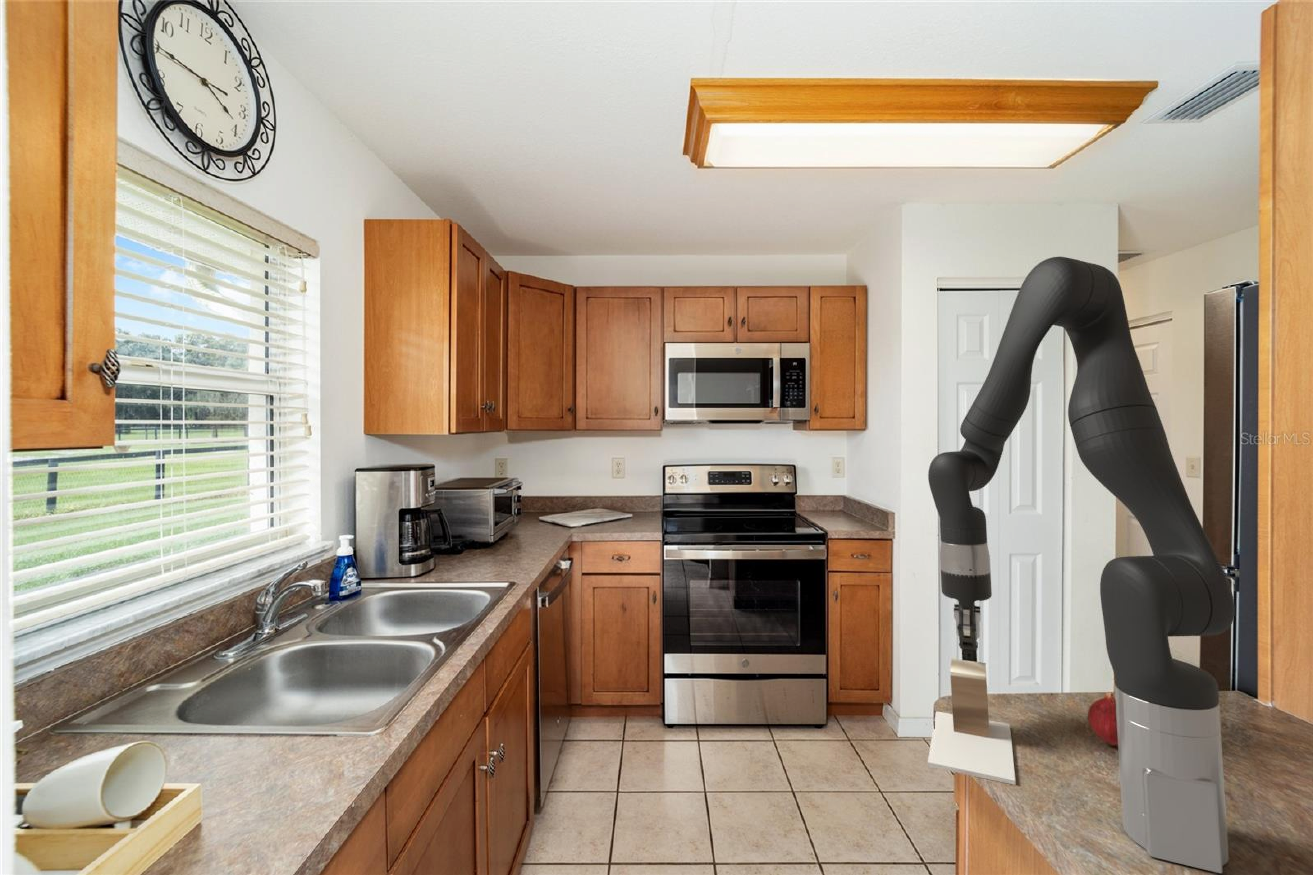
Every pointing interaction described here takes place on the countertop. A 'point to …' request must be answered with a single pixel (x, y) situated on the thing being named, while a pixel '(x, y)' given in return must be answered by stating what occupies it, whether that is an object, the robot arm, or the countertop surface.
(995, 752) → the mat
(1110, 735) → the onion
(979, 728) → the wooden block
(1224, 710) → the countertop surface
